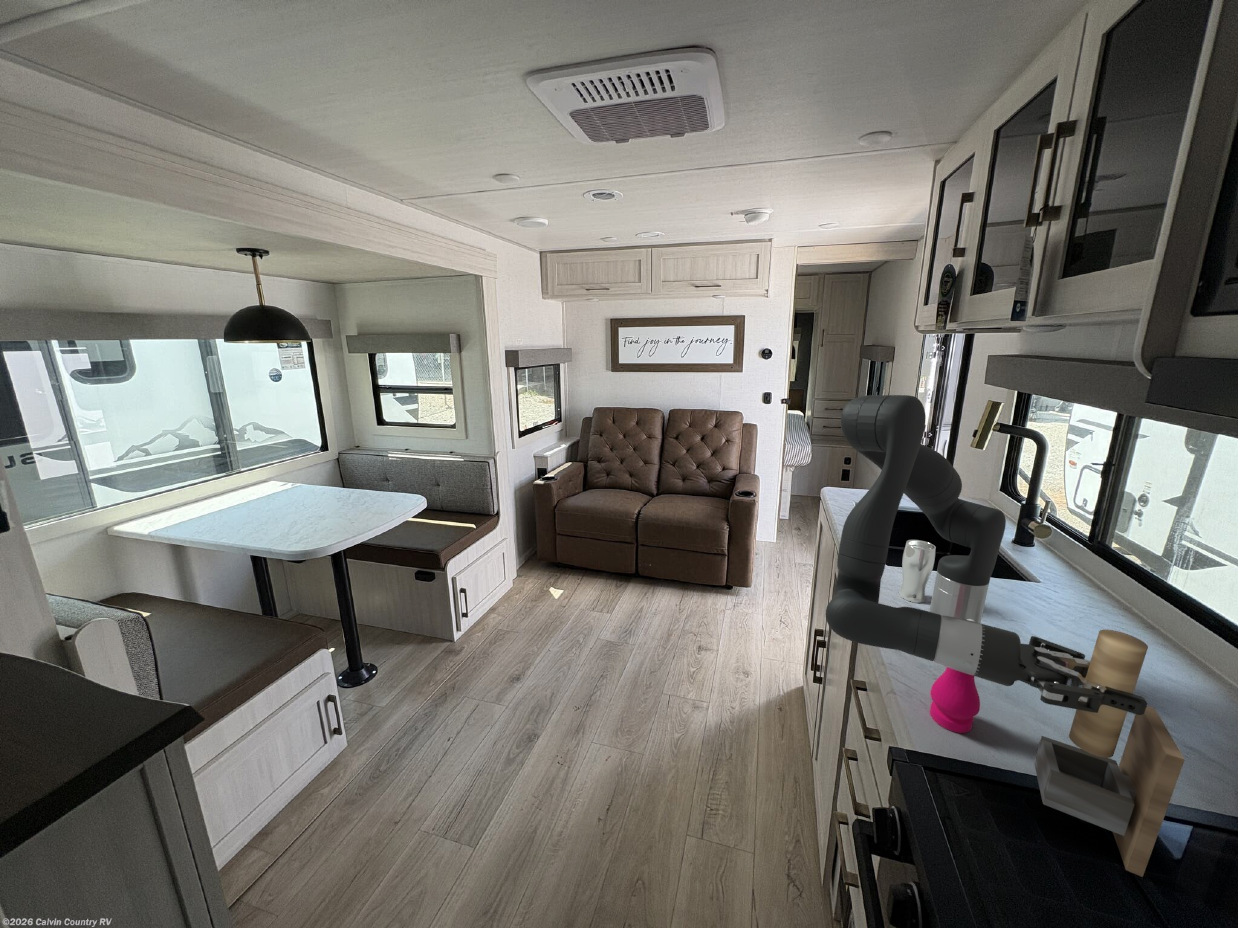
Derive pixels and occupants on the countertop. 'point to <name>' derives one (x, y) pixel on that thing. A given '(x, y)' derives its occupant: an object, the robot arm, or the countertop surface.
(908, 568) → the beer glass
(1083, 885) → the countertop surface
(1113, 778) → the cup bracket
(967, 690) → the pepper mill
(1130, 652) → the oak post
